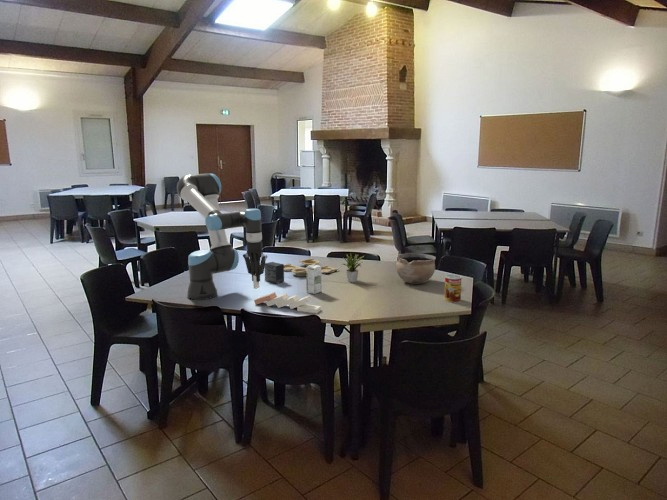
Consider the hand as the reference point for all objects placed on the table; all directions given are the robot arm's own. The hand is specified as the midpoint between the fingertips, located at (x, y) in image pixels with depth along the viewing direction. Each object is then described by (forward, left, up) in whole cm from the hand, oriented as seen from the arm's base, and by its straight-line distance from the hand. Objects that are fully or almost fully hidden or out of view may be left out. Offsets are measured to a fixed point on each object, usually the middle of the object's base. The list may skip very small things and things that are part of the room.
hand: (256, 287), depth 245 cm
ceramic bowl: (+62, +66, -8) cm, 91 cm away
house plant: (+29, +54, -8) cm, 62 cm away
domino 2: (+7, 0, -7) cm, 10 cm away
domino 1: (0, 0, -7) cm, 7 cm away
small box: (-13, +38, -8) cm, 41 cm away
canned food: (+88, +41, -8) cm, 97 cm away
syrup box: (+18, +27, -8) cm, 33 cm away
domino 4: (+20, 0, -7) cm, 21 cm away
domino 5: (+24, 0, -7) cm, 25 cm away
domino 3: (+13, 0, -7) cm, 15 cm away
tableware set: (-8, +68, -9) cm, 69 cm away
